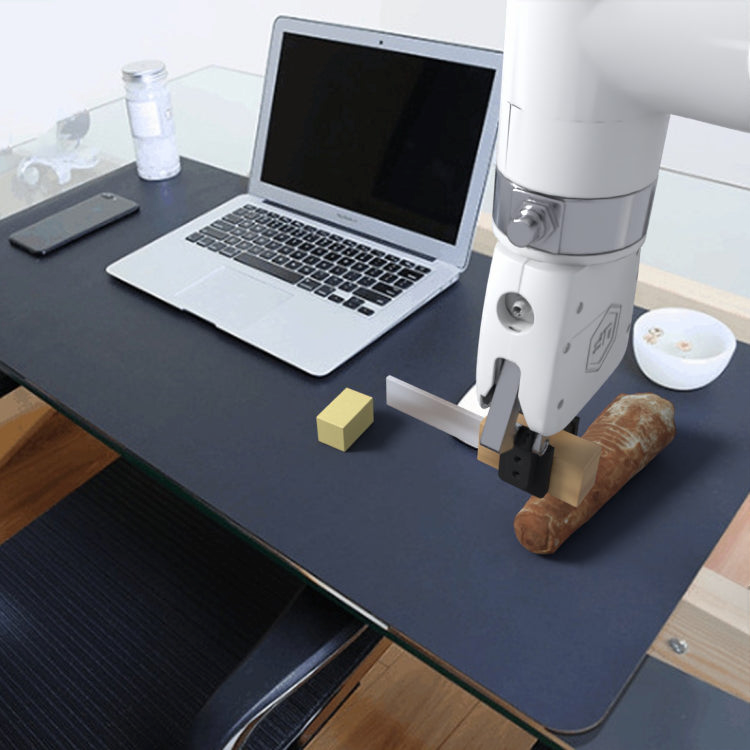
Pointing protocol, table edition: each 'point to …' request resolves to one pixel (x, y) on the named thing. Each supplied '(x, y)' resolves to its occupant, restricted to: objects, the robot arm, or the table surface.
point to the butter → (345, 419)
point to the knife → (569, 465)
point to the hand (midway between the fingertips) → (535, 469)
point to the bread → (602, 468)
